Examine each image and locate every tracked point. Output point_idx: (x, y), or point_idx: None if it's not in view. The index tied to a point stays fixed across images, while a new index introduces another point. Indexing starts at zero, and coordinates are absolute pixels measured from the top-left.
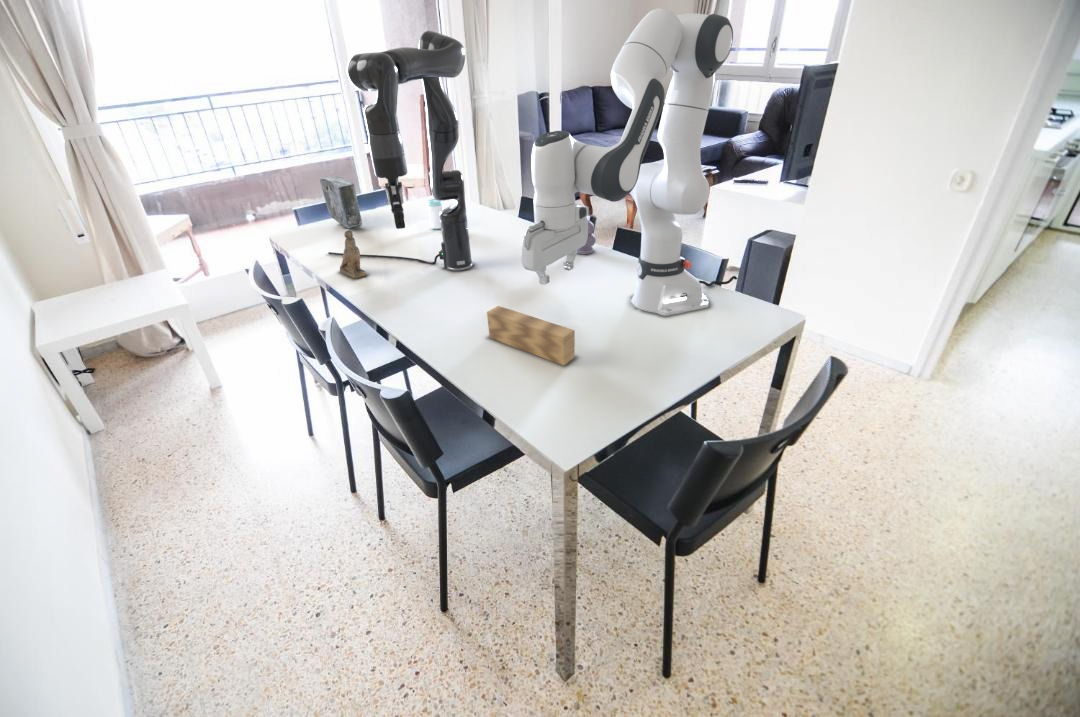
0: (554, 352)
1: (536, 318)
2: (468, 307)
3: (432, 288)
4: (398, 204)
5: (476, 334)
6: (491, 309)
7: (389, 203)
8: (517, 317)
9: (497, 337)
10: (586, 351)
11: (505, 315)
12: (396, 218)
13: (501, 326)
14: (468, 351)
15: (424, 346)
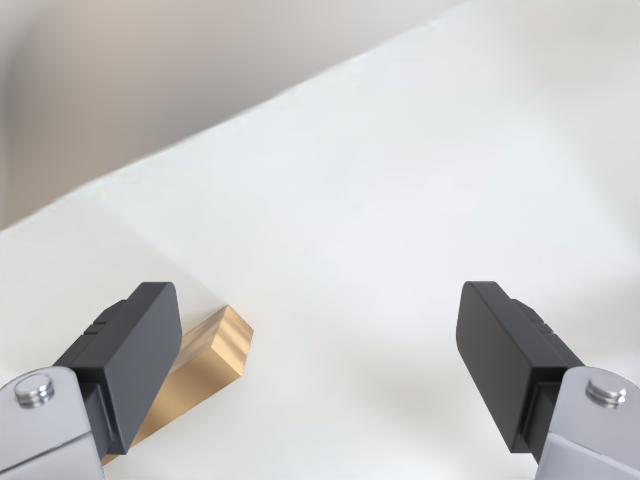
0: None
1: (147, 434)
2: (412, 282)
3: (599, 201)
4: (525, 421)
5: (254, 280)
6: (222, 358)
7: (54, 447)
8: (160, 402)
9: (206, 323)
10: (133, 447)
11: (178, 381)
12: (69, 354)
13: (183, 352)
14: (174, 252)
15: (223, 152)
